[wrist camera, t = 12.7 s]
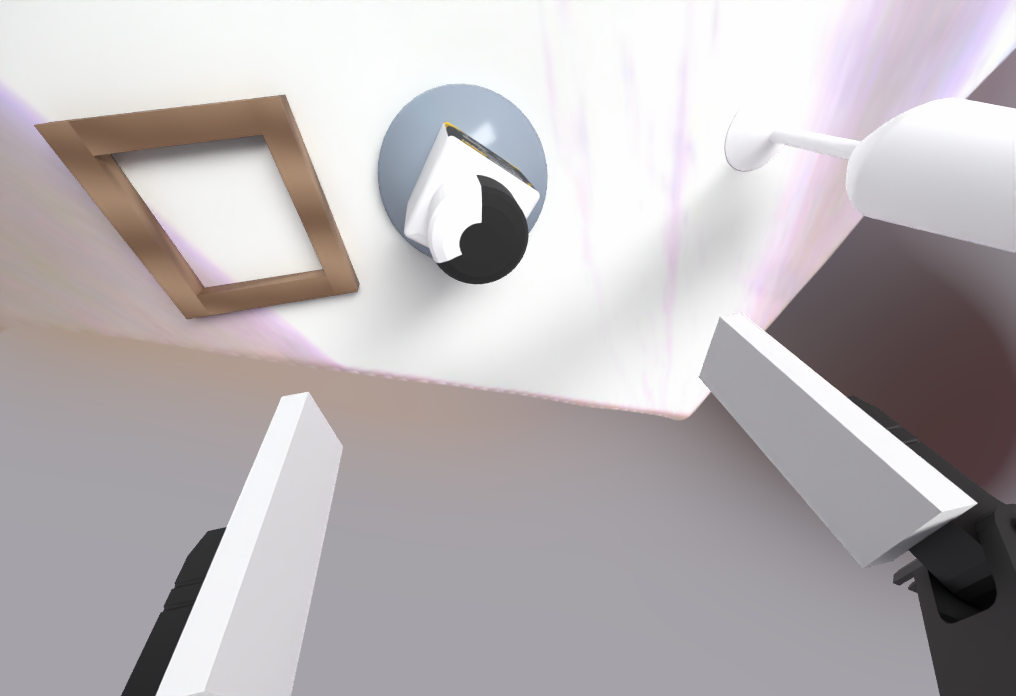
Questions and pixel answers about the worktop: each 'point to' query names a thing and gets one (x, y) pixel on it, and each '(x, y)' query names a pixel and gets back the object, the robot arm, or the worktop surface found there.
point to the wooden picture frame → (109, 188)
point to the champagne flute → (905, 163)
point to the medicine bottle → (470, 209)
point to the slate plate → (477, 118)
